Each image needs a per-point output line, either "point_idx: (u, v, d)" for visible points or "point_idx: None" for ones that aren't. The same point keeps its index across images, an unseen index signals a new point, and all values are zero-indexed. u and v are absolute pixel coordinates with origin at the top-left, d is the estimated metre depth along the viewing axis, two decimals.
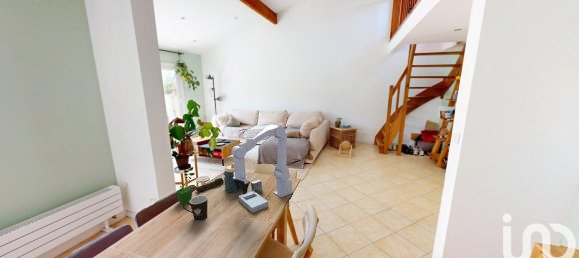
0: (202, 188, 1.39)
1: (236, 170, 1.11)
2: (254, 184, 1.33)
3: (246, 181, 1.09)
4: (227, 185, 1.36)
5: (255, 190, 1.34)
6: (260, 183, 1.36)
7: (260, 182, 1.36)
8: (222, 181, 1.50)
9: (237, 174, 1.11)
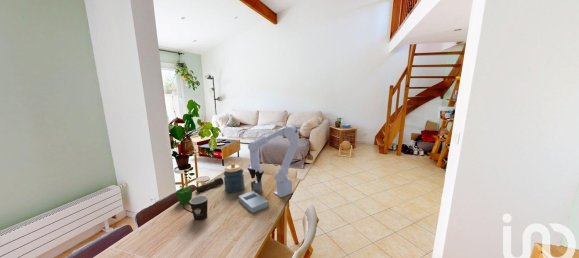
0: (202, 188, 1.39)
1: (252, 161, 1.30)
2: (254, 184, 1.33)
3: (261, 170, 1.28)
4: (227, 185, 1.36)
5: (255, 190, 1.34)
6: (260, 183, 1.36)
7: (260, 182, 1.36)
8: (222, 181, 1.51)
9: (253, 164, 1.31)
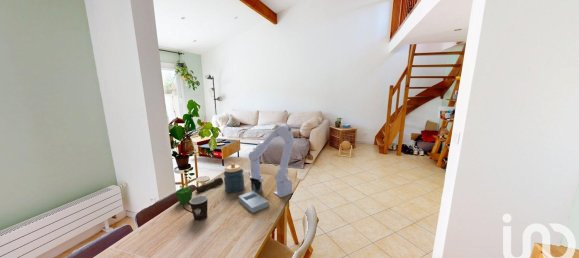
0: (202, 188, 1.39)
1: (253, 170, 1.32)
2: (254, 184, 1.33)
3: (261, 180, 1.29)
4: (227, 185, 1.36)
5: (255, 190, 1.34)
6: None
7: None
8: (221, 181, 1.51)
9: (254, 174, 1.32)
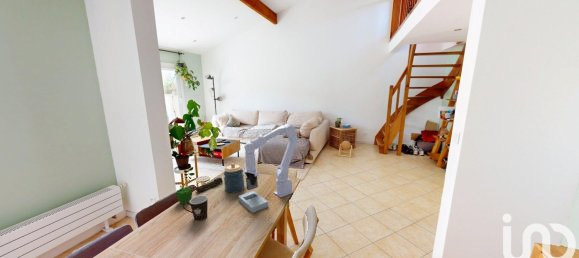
0: (202, 188, 1.39)
1: (247, 164, 1.23)
2: (249, 180, 1.25)
3: (256, 174, 1.20)
4: (227, 185, 1.36)
5: (250, 186, 1.26)
6: (256, 179, 1.27)
7: None
8: (221, 180, 1.51)
9: (249, 167, 1.23)
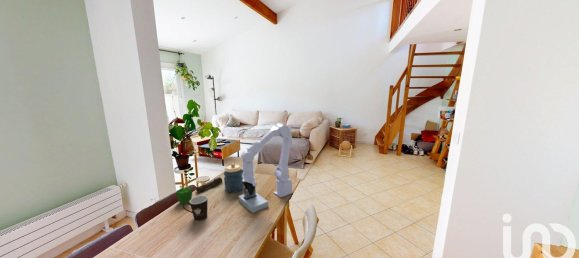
0: (202, 188, 1.39)
1: (245, 173, 1.19)
2: (247, 190, 1.21)
3: (255, 184, 1.17)
4: (227, 185, 1.36)
5: (248, 196, 1.22)
6: (254, 189, 1.23)
7: (254, 188, 1.23)
8: (221, 180, 1.51)
9: (246, 177, 1.19)
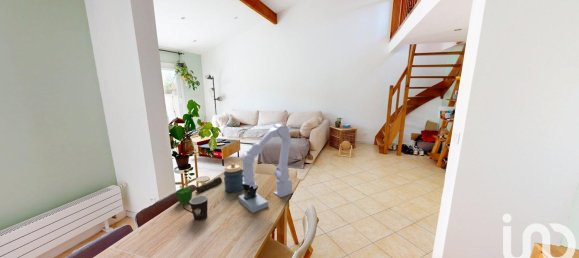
0: (202, 188, 1.39)
1: (245, 176, 1.19)
2: (247, 194, 1.21)
3: (255, 186, 1.17)
4: (227, 185, 1.36)
5: None
6: None
7: None
8: (220, 180, 1.52)
9: (247, 179, 1.19)
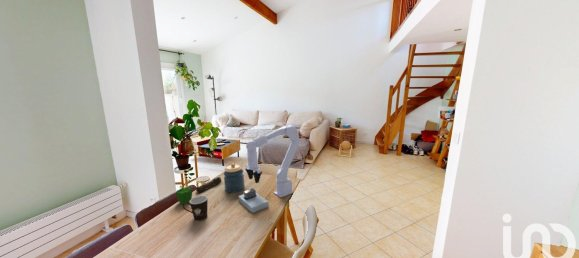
0: (203, 188, 1.39)
1: (250, 161, 1.26)
2: (247, 194, 1.21)
3: (259, 171, 1.24)
4: (227, 185, 1.36)
5: None
6: (254, 192, 1.24)
7: (254, 191, 1.24)
8: (220, 180, 1.52)
9: (251, 165, 1.26)
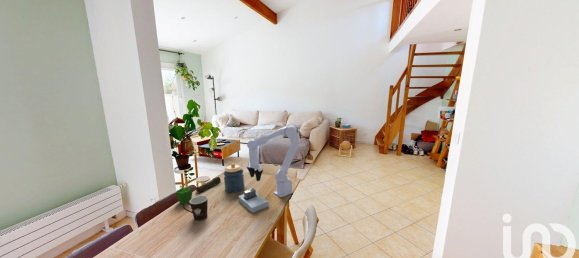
0: (203, 188, 1.39)
1: (251, 160, 1.29)
2: (247, 194, 1.21)
3: (260, 169, 1.27)
4: (227, 185, 1.36)
5: None
6: (254, 192, 1.24)
7: (254, 191, 1.24)
8: (219, 180, 1.52)
9: (252, 163, 1.29)
